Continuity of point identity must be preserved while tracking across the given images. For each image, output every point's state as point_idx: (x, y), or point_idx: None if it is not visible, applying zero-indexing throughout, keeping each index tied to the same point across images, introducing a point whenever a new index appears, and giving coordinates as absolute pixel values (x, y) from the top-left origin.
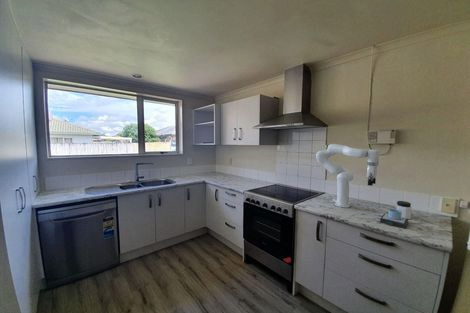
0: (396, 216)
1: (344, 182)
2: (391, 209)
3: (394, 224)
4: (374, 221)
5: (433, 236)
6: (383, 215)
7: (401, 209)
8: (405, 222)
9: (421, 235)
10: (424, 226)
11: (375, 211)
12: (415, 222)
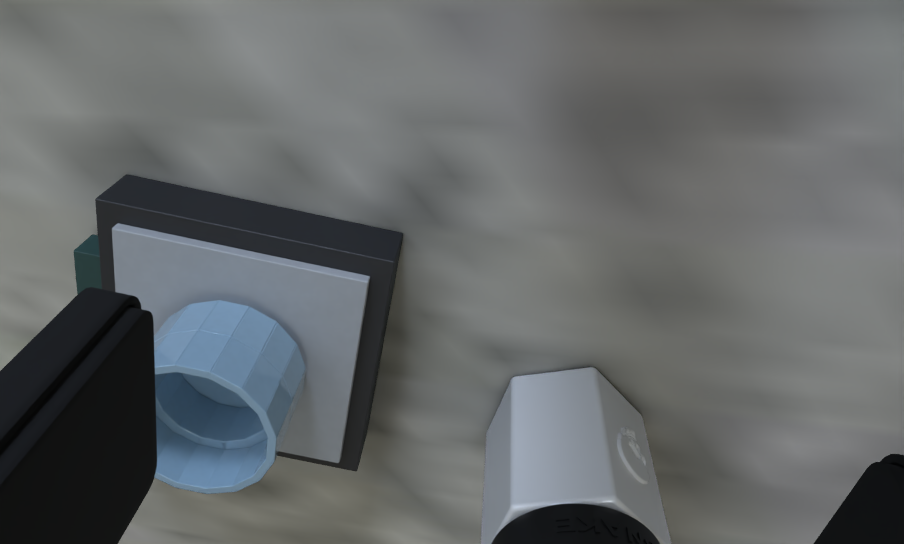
0: None
1: None
2: (250, 400)
3: None
4: (95, 104)
5: (130, 530)
6: (275, 244)
7: (498, 494)
8: None
9: None
10: (358, 529)
11: (640, 132)
12: (434, 491)
